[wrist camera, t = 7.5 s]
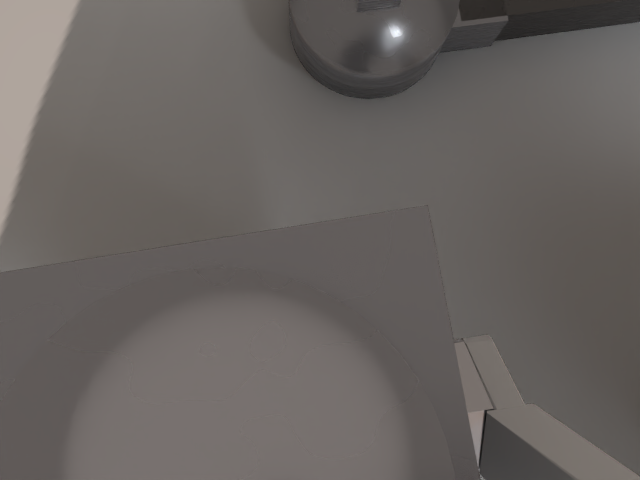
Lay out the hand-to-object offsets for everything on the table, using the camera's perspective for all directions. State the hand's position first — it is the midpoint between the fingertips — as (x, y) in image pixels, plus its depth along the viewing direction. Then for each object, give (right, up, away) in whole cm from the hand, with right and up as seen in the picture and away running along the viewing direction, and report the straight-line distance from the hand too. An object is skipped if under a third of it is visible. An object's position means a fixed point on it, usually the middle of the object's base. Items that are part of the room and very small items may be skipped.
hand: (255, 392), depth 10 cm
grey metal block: (0, -1, +5) cm, 5 cm away
